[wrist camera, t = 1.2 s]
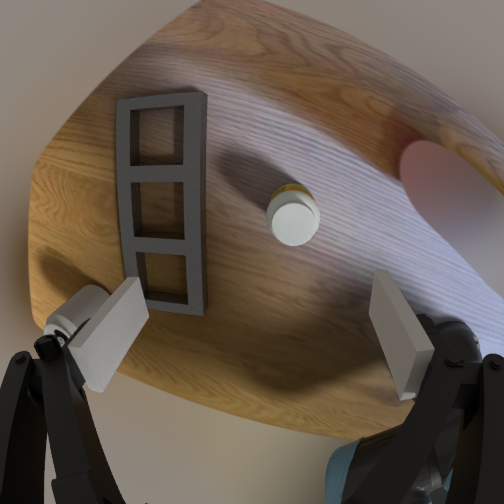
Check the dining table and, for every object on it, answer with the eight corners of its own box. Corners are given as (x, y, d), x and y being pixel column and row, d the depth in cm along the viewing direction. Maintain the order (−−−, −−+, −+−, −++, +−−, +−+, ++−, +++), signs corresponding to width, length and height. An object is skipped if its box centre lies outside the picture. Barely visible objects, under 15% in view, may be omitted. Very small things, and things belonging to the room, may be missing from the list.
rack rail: (207, 94, 32) (201, 91, 30) (207, 306, 42) (203, 316, 40) (126, 102, 33) (116, 100, 31) (137, 298, 43) (130, 306, 41)
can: (123, 297, 44) (82, 341, 32) (114, 329, 46) (78, 374, 35) (85, 273, 43) (39, 310, 32) (79, 307, 46) (39, 346, 35)
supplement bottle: (301, 233, 37) (305, 263, 28) (262, 213, 37) (253, 238, 28) (322, 194, 35) (334, 213, 26) (282, 174, 35) (280, 185, 26)
